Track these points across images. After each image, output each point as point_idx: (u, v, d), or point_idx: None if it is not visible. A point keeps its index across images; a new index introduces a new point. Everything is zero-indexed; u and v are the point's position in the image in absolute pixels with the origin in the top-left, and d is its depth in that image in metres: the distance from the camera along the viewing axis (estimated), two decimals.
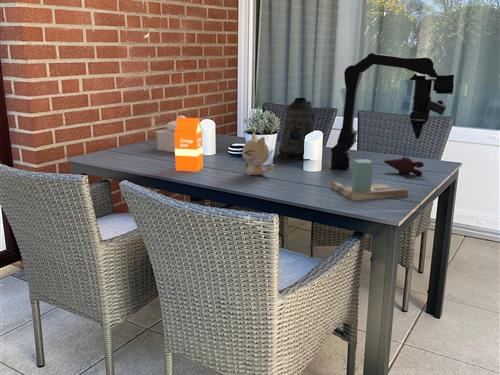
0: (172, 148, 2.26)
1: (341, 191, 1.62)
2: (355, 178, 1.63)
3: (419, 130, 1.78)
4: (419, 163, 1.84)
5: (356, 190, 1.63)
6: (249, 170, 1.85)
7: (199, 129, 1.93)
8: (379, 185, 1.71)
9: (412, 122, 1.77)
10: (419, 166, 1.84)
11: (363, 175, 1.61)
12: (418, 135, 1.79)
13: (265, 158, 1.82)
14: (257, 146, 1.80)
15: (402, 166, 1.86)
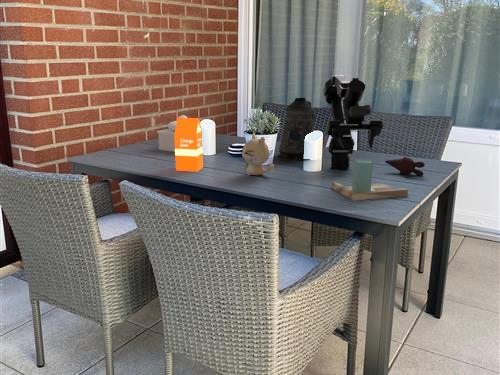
0: (174, 148, 2.27)
1: (341, 191, 1.62)
2: (355, 178, 1.63)
3: (340, 139, 1.70)
4: (420, 163, 1.84)
5: (356, 190, 1.63)
6: (249, 170, 1.85)
7: (199, 129, 1.93)
8: (379, 185, 1.71)
9: (335, 137, 1.74)
10: (420, 166, 1.84)
11: (363, 175, 1.61)
12: (342, 144, 1.69)
13: (265, 158, 1.82)
14: (257, 146, 1.80)
15: (403, 166, 1.85)
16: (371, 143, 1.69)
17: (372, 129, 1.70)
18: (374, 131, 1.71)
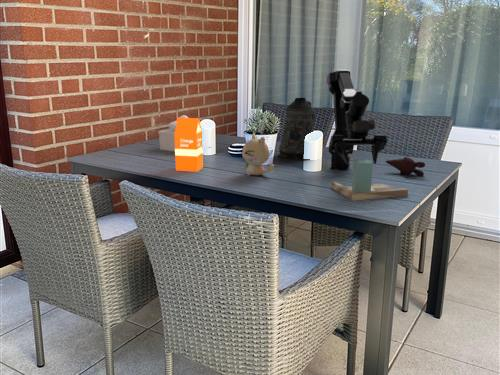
0: None
1: (341, 191, 1.62)
2: (355, 178, 1.63)
3: (343, 155, 1.65)
4: (420, 163, 1.83)
5: (356, 190, 1.63)
6: (249, 170, 1.85)
7: (199, 129, 1.93)
8: (379, 185, 1.71)
9: (338, 152, 1.69)
10: (420, 166, 1.84)
11: (363, 175, 1.61)
12: (345, 160, 1.65)
13: (265, 158, 1.82)
14: (257, 146, 1.80)
15: (403, 166, 1.85)
16: (375, 159, 1.65)
17: (376, 144, 1.66)
18: (378, 146, 1.66)
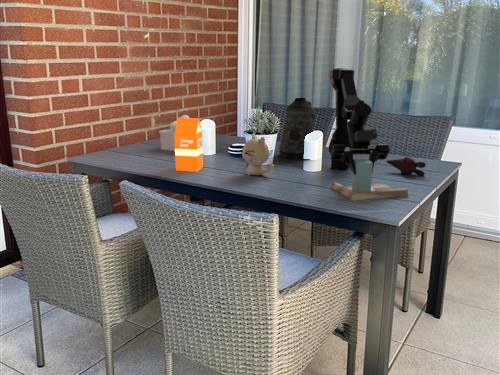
0: None
1: (341, 191, 1.62)
2: (355, 178, 1.63)
3: (351, 165, 1.63)
4: (421, 163, 1.83)
5: (356, 190, 1.63)
6: (249, 170, 1.85)
7: (199, 129, 1.93)
8: (379, 185, 1.71)
9: (345, 162, 1.67)
10: (421, 166, 1.84)
11: (363, 175, 1.61)
12: (353, 170, 1.62)
13: (265, 158, 1.82)
14: (257, 146, 1.80)
15: (404, 166, 1.85)
16: None
17: (372, 154, 1.63)
18: (375, 156, 1.64)
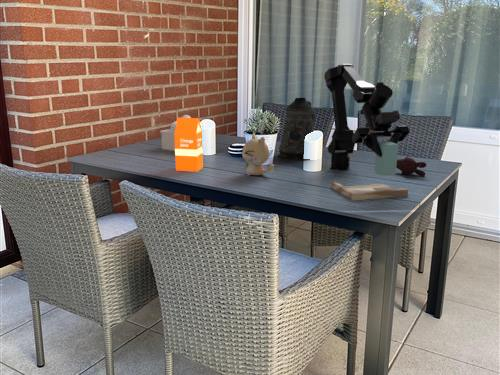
0: None
1: (341, 191, 1.62)
2: (381, 161, 1.61)
3: (375, 147, 1.61)
4: (422, 163, 1.83)
5: (382, 173, 1.61)
6: (249, 170, 1.85)
7: (199, 129, 1.93)
8: (379, 185, 1.71)
9: (367, 145, 1.65)
10: (422, 166, 1.84)
11: (389, 157, 1.60)
12: (379, 153, 1.61)
13: (265, 158, 1.82)
14: (257, 146, 1.80)
15: (404, 166, 1.85)
16: None
17: (394, 136, 1.63)
18: (397, 138, 1.63)
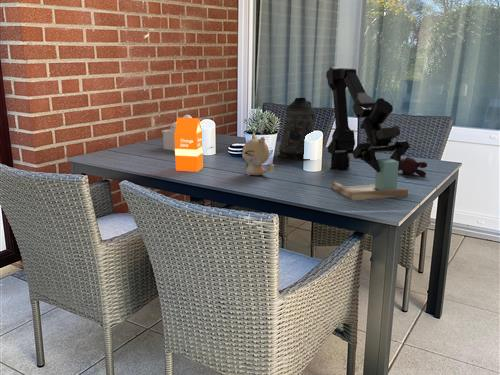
0: None
1: (341, 191, 1.62)
2: (382, 178, 1.63)
3: (374, 163, 1.62)
4: (422, 163, 1.83)
5: None
6: (249, 170, 1.85)
7: (199, 129, 1.93)
8: None
9: (365, 160, 1.66)
10: (423, 166, 1.84)
11: (390, 174, 1.62)
12: (377, 168, 1.62)
13: (265, 158, 1.82)
14: (257, 146, 1.80)
15: (405, 166, 1.85)
16: (399, 165, 1.64)
17: (398, 151, 1.65)
18: (400, 153, 1.65)
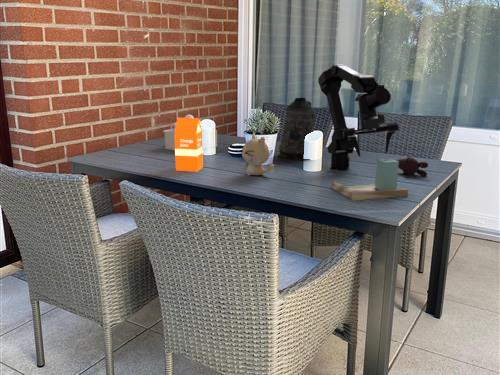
0: None
1: (341, 191, 1.62)
2: (382, 178, 1.63)
3: (355, 148, 1.75)
4: (423, 163, 1.83)
5: None
6: (249, 170, 1.85)
7: (199, 129, 1.93)
8: None
9: (351, 141, 1.78)
10: (424, 166, 1.84)
11: (390, 174, 1.62)
12: (357, 153, 1.75)
13: (265, 158, 1.82)
14: (257, 146, 1.80)
15: (406, 166, 1.85)
16: (386, 149, 1.73)
17: (387, 135, 1.72)
18: (389, 136, 1.72)
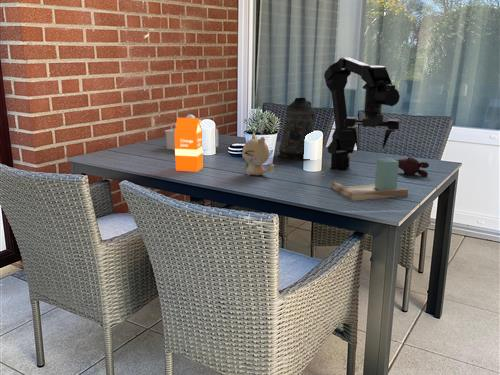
0: None
1: (341, 191, 1.62)
2: (382, 178, 1.63)
3: (354, 138, 1.78)
4: (424, 163, 1.83)
5: None
6: (249, 170, 1.85)
7: (199, 129, 1.93)
8: None
9: None
10: (424, 166, 1.84)
11: (390, 174, 1.62)
12: None
13: (265, 158, 1.82)
14: (257, 146, 1.80)
15: (407, 166, 1.85)
16: (383, 145, 1.74)
17: (386, 132, 1.72)
18: (388, 133, 1.72)
